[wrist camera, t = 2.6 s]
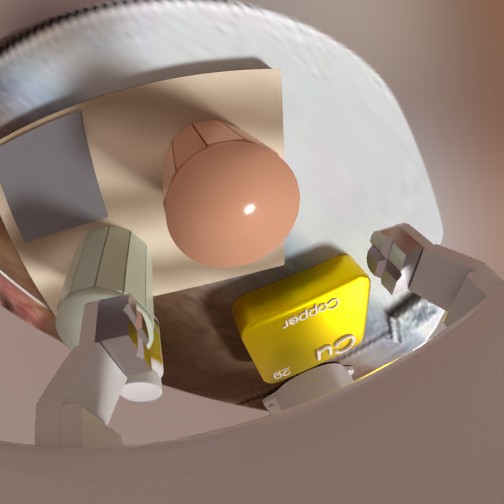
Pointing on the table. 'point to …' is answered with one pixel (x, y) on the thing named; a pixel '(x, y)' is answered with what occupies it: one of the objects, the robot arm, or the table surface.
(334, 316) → the element tile
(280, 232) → the terracotta cup
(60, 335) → the sage cup
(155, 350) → the supplement bottle
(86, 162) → the charcoal mat
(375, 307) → the table surface
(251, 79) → the birch board
